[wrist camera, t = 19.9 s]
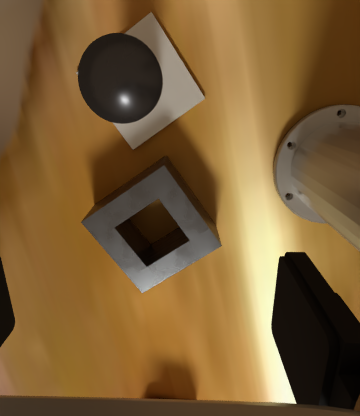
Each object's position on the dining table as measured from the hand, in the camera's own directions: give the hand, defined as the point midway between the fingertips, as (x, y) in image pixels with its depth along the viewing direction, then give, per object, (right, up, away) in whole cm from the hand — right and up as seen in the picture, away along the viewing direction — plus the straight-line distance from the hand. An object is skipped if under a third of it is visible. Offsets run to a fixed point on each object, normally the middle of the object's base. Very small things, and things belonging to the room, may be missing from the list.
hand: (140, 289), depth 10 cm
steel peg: (-2, +15, +20) cm, 25 cm away
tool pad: (-2, +15, +20) cm, 25 cm away
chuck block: (-1, +2, +25) cm, 25 cm away
